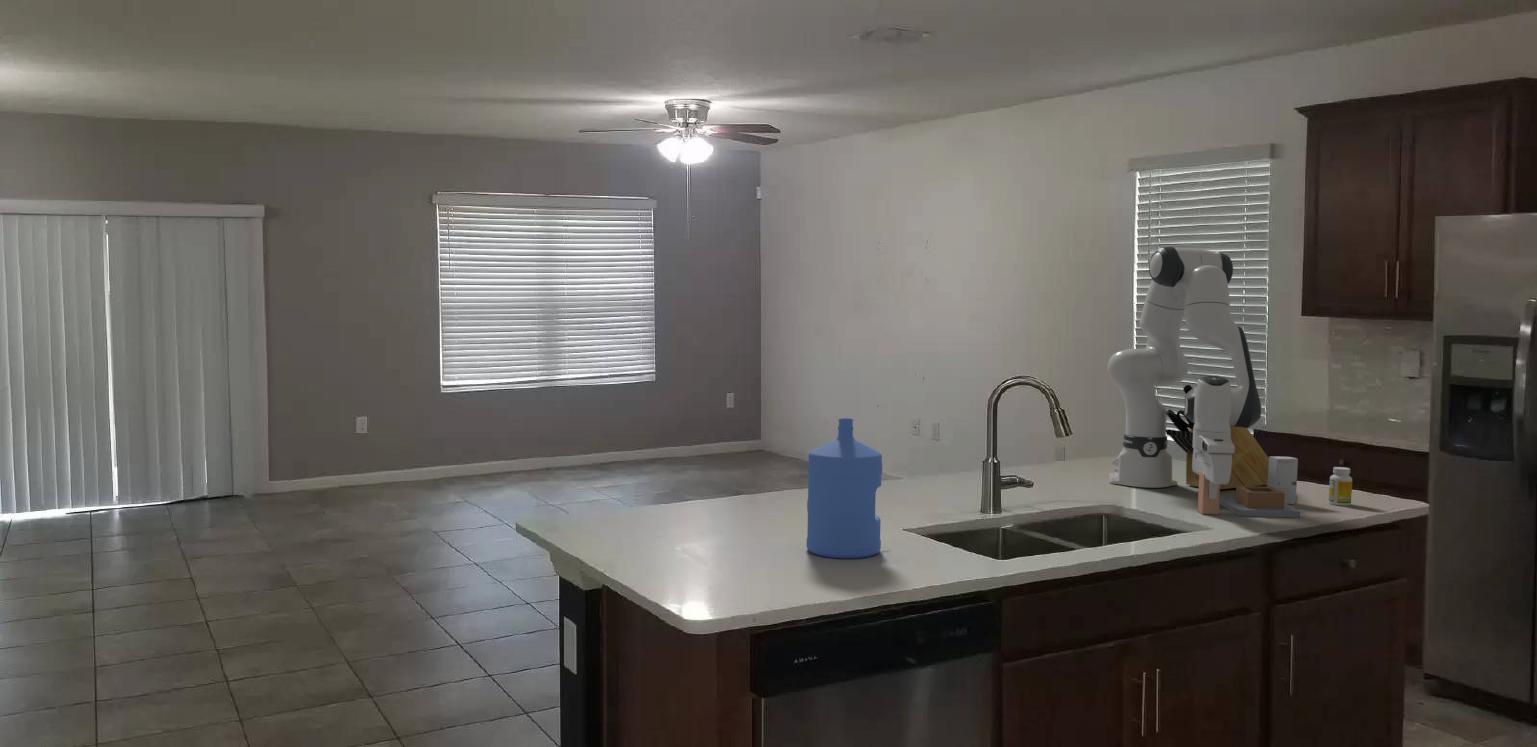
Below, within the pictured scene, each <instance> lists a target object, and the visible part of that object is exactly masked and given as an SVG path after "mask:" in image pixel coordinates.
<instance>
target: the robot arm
mask: <svg viewBox="0 0 1537 747" xmlns="http://www.w3.org/2000/svg"><path fill="white" fill-rule="evenodd" d="M1233 265H1234V264H1233V262H1232V258H1230V256H1229V255H1227V254H1225V253H1223V252H1220V251H1216V250H1215V251H1212V250H1207V249H1204V248H1198V247H1193V248H1189V247H1173V246H1163V247H1159V248H1158V249H1156V250H1155V251H1154V252H1153V254H1152V256H1151V257H1150V260H1149V264H1148V273H1149V276H1150V278H1151V281H1150V285H1149V286H1148V290H1147V292H1146V296H1145V300H1144V303H1143V307H1142V311H1141V314H1140V319H1139V327H1140V329H1141V331H1142V332H1143V333H1144V335H1146V338H1147V339H1146V347H1145V348H1126V349H1124V350H1120V351H1117V352H1115V353H1114V354H1112V355H1111V356H1110V358H1109V360H1108V362H1107V374H1108V377H1109V379H1110V380H1111V382H1112V383H1113V384H1114V385H1115V386H1116V387H1117V388H1118V389H1119V391H1120V394H1121V395H1122V399H1123V402H1124V407H1125V408H1124V409H1125V433H1124V435H1123V438H1122V446H1123V447H1122V449H1121V451H1120V453H1119V455H1118V457H1115V458H1113V459H1112V461H1111V462H1112V463H1111V466H1112V467H1113V468H1114V472H1109V476H1108V478H1109V483H1110V484H1113V485H1120V486H1121V485H1123V486H1129V487H1136V488H1148V489H1149V488H1150V489H1151V488H1153V489H1154V488H1155V489H1156V488H1159V489H1160V488H1167V487H1171V486H1177V485H1179V484H1178V481H1177V480H1174V479H1173V456H1172V455H1171V454H1170V453H1169V452H1168V450H1167V449H1168V435H1167V434H1166V429H1167V418H1168V417H1167V416H1168V415H1166V414H1165V412H1166V411H1167V409H1166V408H1167V407H1165V405H1164V404H1163V403H1161V402H1160V401H1159V400H1158V398H1157V396H1156V392H1155V387H1168V386H1173V385H1176V384H1178V383H1182V382H1183V381H1184V380H1185V379H1186V378H1187V375H1188V373H1189V361H1188V359H1187V356H1186V355H1185V353H1183V351H1182V348H1181V344H1180V343H1181V342H1180V333H1181V328H1182V324H1183V320H1185V326H1186V328H1187V330H1188V331H1189V333H1190V334H1191V335H1192V336H1193V337H1195V338H1196V339H1198V340H1199V341H1201V342H1203V343H1205V344H1208V345H1212V346H1214V347H1215V348H1216V347H1217V348H1219V349H1220V350H1223V351H1224V352H1226V354H1228V356H1230V358H1231V360H1232V361H1231V362H1232V365H1233V369H1234V370H1233V371H1234V376H1235V381H1236V384H1237V385H1236V386H1237V387H1234V388H1233V387H1231V382H1230V380H1229V379H1227V378H1226V377H1224V376H1223V377H1222V376H1218V375H1206V376H1201V377H1200V378H1198V380H1197V382H1196V387H1192V388H1193V389H1191V390H1190V391H1189V392H1188V393H1187V394H1184V410H1183V411H1184V416H1185V417H1186V418H1187V419H1188V420H1189V421H1191V422H1193V423H1195V424H1194V427H1193V446H1192V447H1193V448H1194V449H1193V458H1192V470H1193V472H1194V473H1196V474H1198V475H1199V472H1201V473H1203V474H1205V479H1207V480H1208V481H1209V485H1210V487H1209V491H1208V497H1209V498H1210V499H1216V498H1217V491H1218V488H1219V484H1228V483H1229V480H1230V476H1231V467H1232V455H1231V454H1233V453H1234V451H1235V446H1234V444H1233V442H1232V441H1231V428H1230V426H1234V427H1242V428H1247V429H1249V428H1250V427H1252V426H1253V425H1255V424H1256V423H1257V422H1258V421H1259V420H1261V416H1262V408H1263V407H1262V401H1261V398H1260V394H1259V392H1258V387H1257V384H1256V380H1255V379H1256V378H1255V375H1254V369H1253V364H1252V360H1251V354H1250V350H1249V345H1248V341H1247V337H1246V333H1245V332H1244V330H1243V328H1242V327H1240V326H1239V325H1237V324H1236V322H1235V321H1234V319H1233V317H1232V314H1231V306H1230V305H1231V302H1230V299H1231V298H1230V291H1229V285H1228V284H1230V282H1231V280H1232V277H1233V274H1234V266H1233ZM1184 416H1183V417H1184ZM1185 417H1184V418H1185ZM1186 418H1185V419H1186Z"/></svg>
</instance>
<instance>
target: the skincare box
mask: <svg viewBox="0 0 1537 747" xmlns="http://www.w3.org/2000/svg"><path fill="white" fill-rule="evenodd" d="M1268 458H1269V468H1268V486H1267V487H1273V488H1275V489H1277V490H1279V491H1281V492H1284V493H1285V500H1284V503H1285V504H1287V505H1289V504H1290V505H1294V504H1296V501H1297V486H1298V485H1297V483H1298V468H1299V467H1298V466H1299V462H1298V461H1299V459H1298V458H1296V457H1292V456H1273V455H1272V456H1268Z"/></svg>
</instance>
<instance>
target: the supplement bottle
mask: <svg viewBox="0 0 1537 747" xmlns="http://www.w3.org/2000/svg"><path fill="white" fill-rule="evenodd" d="M1332 472H1333V474H1332V475H1330V477H1329V488H1328V503H1329V504H1330V505H1333V506H1339V507H1341V506H1342V507H1343V506H1345V507H1347V506H1348V507H1349V506H1351V505H1352V494H1353V493H1352V491H1353V490H1352V489H1353V477H1351V476H1350V474H1351V468H1350V467H1344V466H1338V467H1337V466H1333V470H1332Z"/></svg>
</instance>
